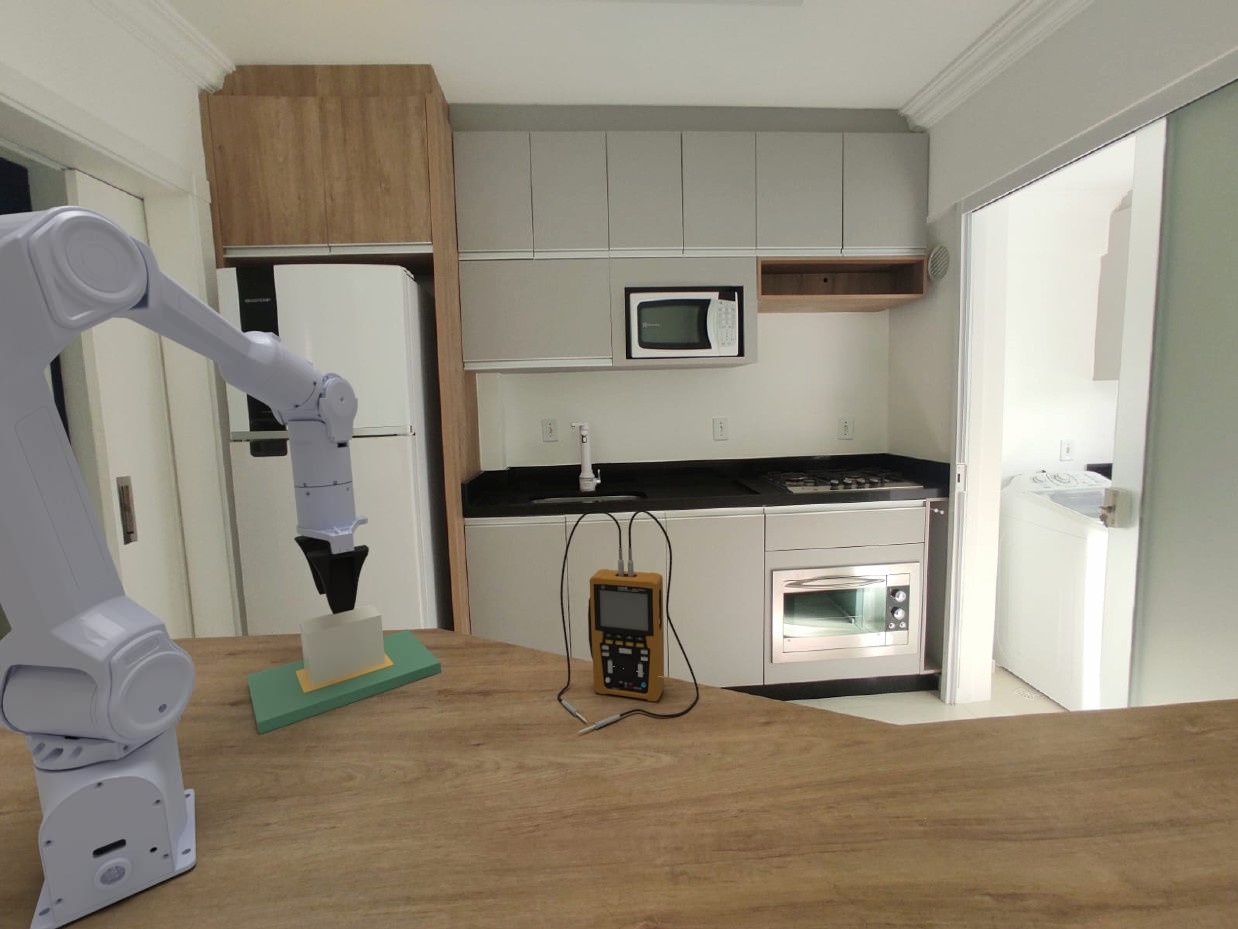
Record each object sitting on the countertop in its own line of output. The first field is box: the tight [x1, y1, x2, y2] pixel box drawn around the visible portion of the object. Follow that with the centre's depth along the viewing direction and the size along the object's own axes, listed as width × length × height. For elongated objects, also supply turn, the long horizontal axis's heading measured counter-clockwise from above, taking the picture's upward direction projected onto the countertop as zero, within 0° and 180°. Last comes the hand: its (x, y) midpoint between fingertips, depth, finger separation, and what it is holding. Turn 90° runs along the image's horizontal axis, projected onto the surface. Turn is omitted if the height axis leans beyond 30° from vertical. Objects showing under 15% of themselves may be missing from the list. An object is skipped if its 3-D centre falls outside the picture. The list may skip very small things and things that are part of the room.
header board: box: [246, 629, 442, 735], centre depth 63 cm, size 12×18×4 cm, turn 128°
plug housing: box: [299, 603, 385, 687], centre depth 62 cm, size 4×8×6 cm, turn 129°
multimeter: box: [556, 509, 700, 734], centre depth 54 cm, size 15×10×20 cm
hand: (335, 601), depth 62 cm, fingers open, 7 cm apart
